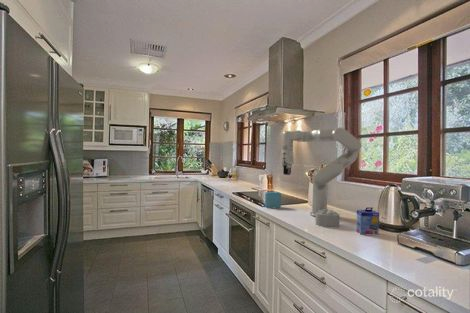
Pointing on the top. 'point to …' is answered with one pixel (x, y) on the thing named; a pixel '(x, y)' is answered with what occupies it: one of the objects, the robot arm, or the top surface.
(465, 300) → the top surface
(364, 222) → the ink cartridge box
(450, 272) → the top surface
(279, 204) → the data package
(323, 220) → the lumpy-topped squat cylinder
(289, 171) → the connector casing
